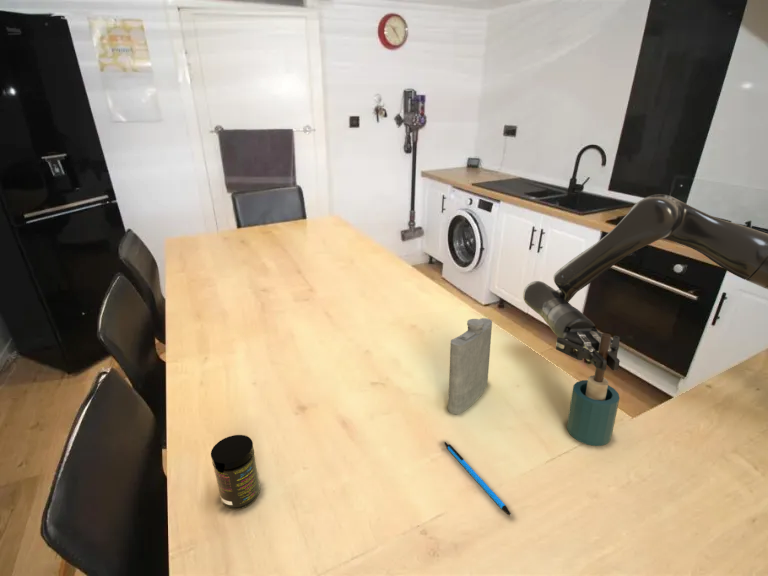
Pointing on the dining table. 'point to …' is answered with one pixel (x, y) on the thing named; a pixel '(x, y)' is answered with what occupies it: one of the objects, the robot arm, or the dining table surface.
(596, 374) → the brush
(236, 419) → the dining table surface
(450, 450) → the pen
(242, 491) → the supplement container
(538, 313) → the robot arm
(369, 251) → the dining table surface
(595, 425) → the teal pen holder
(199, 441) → the dining table surface
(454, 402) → the hip flask
